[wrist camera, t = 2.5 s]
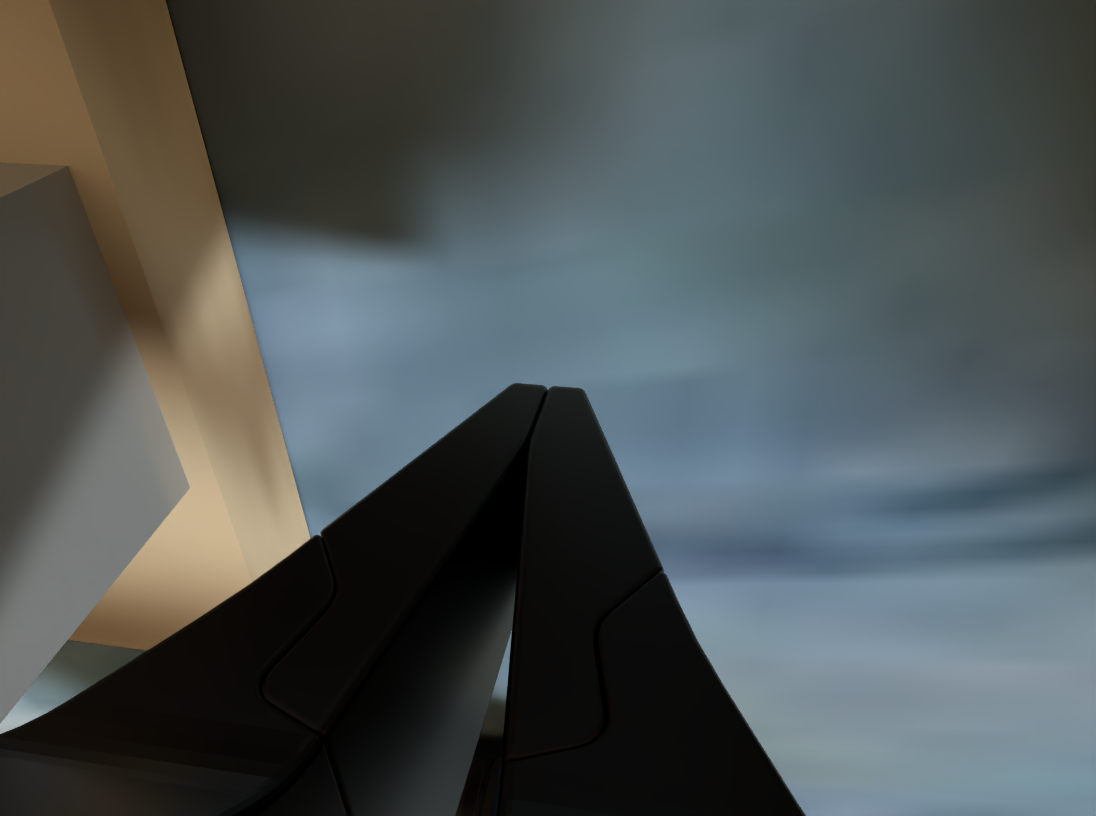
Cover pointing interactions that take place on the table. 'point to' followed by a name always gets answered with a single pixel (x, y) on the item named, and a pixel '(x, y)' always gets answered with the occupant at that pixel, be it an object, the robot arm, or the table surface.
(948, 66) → the table surface
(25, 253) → the grey square block
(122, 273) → the bench board
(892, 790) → the table surface
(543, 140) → the table surface
